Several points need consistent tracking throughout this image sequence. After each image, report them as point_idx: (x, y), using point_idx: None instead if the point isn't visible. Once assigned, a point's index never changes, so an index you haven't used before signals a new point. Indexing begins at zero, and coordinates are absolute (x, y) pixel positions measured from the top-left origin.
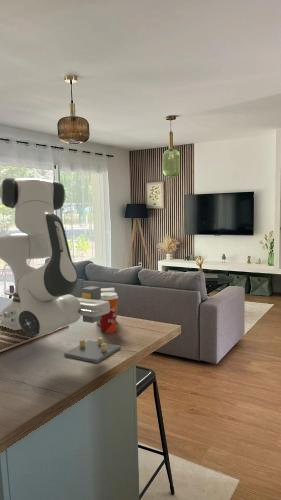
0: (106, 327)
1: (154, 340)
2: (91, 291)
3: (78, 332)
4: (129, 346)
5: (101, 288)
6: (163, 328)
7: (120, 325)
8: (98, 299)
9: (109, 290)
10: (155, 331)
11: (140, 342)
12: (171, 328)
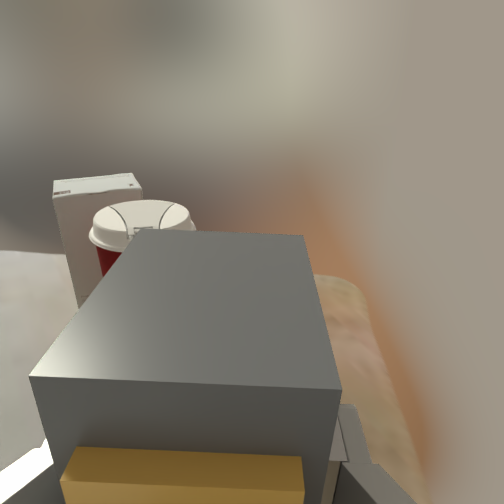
0: None
1: (385, 388)
2: (318, 424)
3: (14, 414)
4: None
5: (76, 179)
6: (327, 299)
7: None
8: (343, 439)
9: (123, 188)
10: None
11: None
12: (348, 294)
